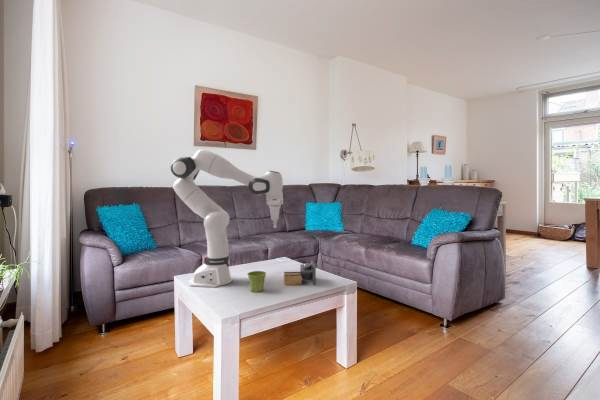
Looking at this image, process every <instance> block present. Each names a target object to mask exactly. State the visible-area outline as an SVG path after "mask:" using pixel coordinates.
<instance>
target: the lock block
mask: <svg viewBox="0 0 600 400" xmlns="http://www.w3.org/2000/svg"><path fill="white" fill-rule="evenodd" d="M283 282H284V283H283V284H284V286H299V285H300V286H302V279H301V272H300V271H283Z"/></svg>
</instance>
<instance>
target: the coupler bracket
mask: <svg viewBox="0 0 600 400" xmlns="http://www.w3.org/2000/svg"><path fill="white" fill-rule="evenodd" d="M299 270H300V271H299V272H301V280H310V281H311V284H312V286H316V285H317V283H316V279H317V275H316V274H317V267H316V264H315V261H314V260H310V262H305V263H303V264H300V269H299Z"/></svg>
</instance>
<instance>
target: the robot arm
mask: <svg viewBox="0 0 600 400" xmlns="http://www.w3.org/2000/svg"><path fill="white" fill-rule="evenodd" d="M200 171H203V172H204V173H207V174H209V175H211V176H213V177H216V178H220V179H225V180H226V179H229V180H234V181H236V182H239V183H241V184H243V185H244V186H246V187H248V191H249V192H250V194H253V195H255V196H263V195H266V197H265V198H266V199H265V200H266V205H268V208H269V212H270V213H269V214H270V220H271V221H272V225H273V226H272V228H273V229H277V226H278V221H279V218H280V210H281V209H280V208H281V205H284V194H283V188H284V184H283V176H282V173H280V172H279V171H274V170H268V171H267V170H266V172H265V173H263V174H261V175H259V176H254V175H251V174H250V173H247V172H245V171H243V170H241V169H239V168H237V167H236V166H235V165H234V164H233V163H231V162H230V161H229V160H227V159H226V158H224V157H222V156H221V155H219V154H217V153H214V152H212V151H209V150H207V149H202V148H201V149H198V150H197V151H196V152H195V153H194V154H193V156H192V157H191V156H182V157H181V156H180V157H178V158H175V159H174V160H172V162H171V164H170V172H171V173H172V175H174V176H175V177H176V178H177V179H176V180H175V181H174V183H173V185H172V189H173V190H174V192H175V194H176V195H177V196H178V197H179V198H180V200H181V201H182V202H183V203H184V204H185V205H186V206H187V207H188V208H189V209H190V210H191V211H192V212H193V213H194V214H196V215H198V216H199V217H200V218H202V219H203V228H204V232H205V233H204V234H205V238H206V244H207V246H206V247H207V248H206V249H207V251H206V253H207V255H204V258H203V264H201V265H200V266H199V267H198V268H197V269H195V271H194V273H193V277H192V278H191V279H190V280H189V281H188V286H189V287H202V288H203V287H204V288H205V287H206V288H207V287H208V288H218V287H221V286H223V285H227V284H229V283H231V282H232V281H233V278H232V276H231V272H230V255H229V240H228V239H229V238H228V235H227V227H228V225H229V224H230V219H231V218H230V215H229V212H227V211H226V210H224V209H223V208H222V207H221V206H220V205H218V204H217V203H216V202H215V201H214V200H212V199H211V198H210V197H209V196H208V195H207V194H206V193H205V192H204V191H203V190H202V189H201V188H200V187H199V186H198V185H197V183H195V180H196V178H197V176H198V174H199V173H200Z"/></svg>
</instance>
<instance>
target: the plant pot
mask: <svg viewBox="0 0 600 400" xmlns="http://www.w3.org/2000/svg"><path fill="white" fill-rule="evenodd" d="M266 275H267V272H266V271H261V270H253V271H250V272H248V273H247V275H246V276H248V281H249V287H250V292H253V293H260V292H263V290H264V286H265V279H266Z"/></svg>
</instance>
